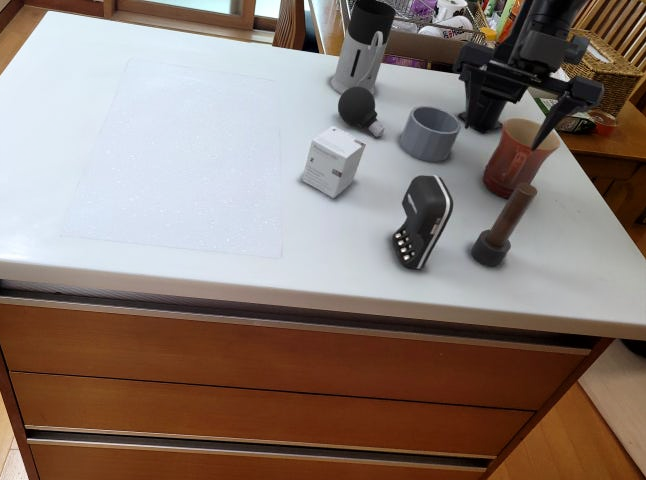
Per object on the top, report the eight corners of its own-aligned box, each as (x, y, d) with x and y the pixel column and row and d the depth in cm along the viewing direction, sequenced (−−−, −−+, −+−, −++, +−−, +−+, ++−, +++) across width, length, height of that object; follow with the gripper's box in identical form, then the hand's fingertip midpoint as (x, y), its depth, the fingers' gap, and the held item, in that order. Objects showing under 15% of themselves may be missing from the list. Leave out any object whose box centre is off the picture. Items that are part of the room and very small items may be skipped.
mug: (482, 164, 95) (510, 111, 87) (531, 185, 93) (563, 133, 85) (464, 198, 87) (493, 143, 79) (517, 222, 85) (552, 167, 77)
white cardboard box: (300, 181, 83) (310, 139, 77) (321, 165, 87) (332, 123, 81) (334, 199, 81) (347, 158, 76) (353, 182, 85) (367, 141, 79)
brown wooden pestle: (483, 241, 80) (524, 174, 71) (507, 261, 78) (551, 194, 69) (464, 250, 78) (503, 182, 69) (488, 270, 76) (531, 203, 67)
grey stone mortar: (423, 129, 100) (434, 102, 96) (457, 155, 96) (471, 127, 92) (390, 139, 96) (400, 110, 92) (424, 166, 91) (437, 138, 87)
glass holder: (370, 78, 110) (394, 1, 100) (382, 116, 101) (410, 34, 90) (328, 72, 109) (348, -7, 98) (336, 109, 99) (359, 26, 89)
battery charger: (384, 234, 77) (411, 167, 69) (409, 235, 78) (439, 169, 70) (397, 270, 73) (428, 203, 64) (424, 271, 73) (458, 205, 65)
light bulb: (388, 125, 90) (348, 80, 91) (362, 151, 94) (324, 108, 95) (401, 118, 95) (363, 76, 96) (376, 144, 99) (340, 103, 100)
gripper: (491, -23, 65) (440, 104, 68) (648, 24, 63) (590, 155, 65) (474, 12, 76) (431, 121, 79) (608, 54, 74) (559, 165, 76)
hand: (499, 139), depth 75 cm, fingers open, 9 cm apart
